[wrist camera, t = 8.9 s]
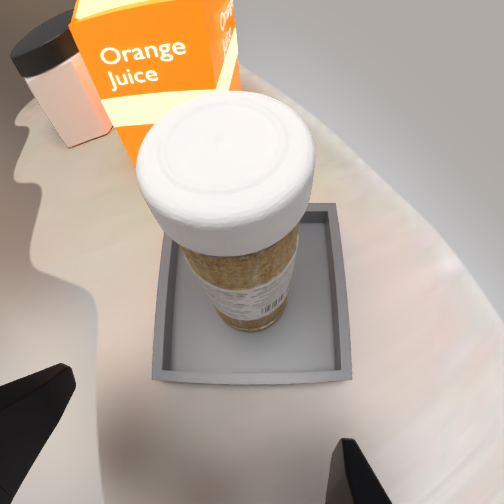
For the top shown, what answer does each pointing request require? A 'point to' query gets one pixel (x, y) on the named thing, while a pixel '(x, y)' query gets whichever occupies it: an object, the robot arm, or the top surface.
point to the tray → (267, 340)
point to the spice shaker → (232, 197)
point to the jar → (61, 81)
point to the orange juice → (155, 57)
